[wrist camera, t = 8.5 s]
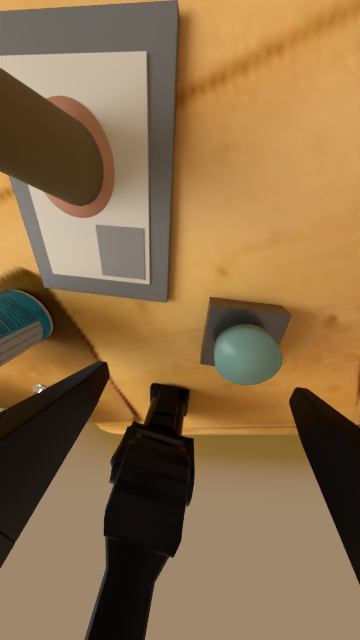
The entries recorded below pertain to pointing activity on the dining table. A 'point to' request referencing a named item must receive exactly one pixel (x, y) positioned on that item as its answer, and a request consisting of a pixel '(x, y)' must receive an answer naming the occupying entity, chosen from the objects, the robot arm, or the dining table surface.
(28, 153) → the brown tapered upright piece
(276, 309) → the button housing
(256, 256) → the dining table surface
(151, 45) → the drawing board
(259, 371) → the button
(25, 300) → the beverage bottle
